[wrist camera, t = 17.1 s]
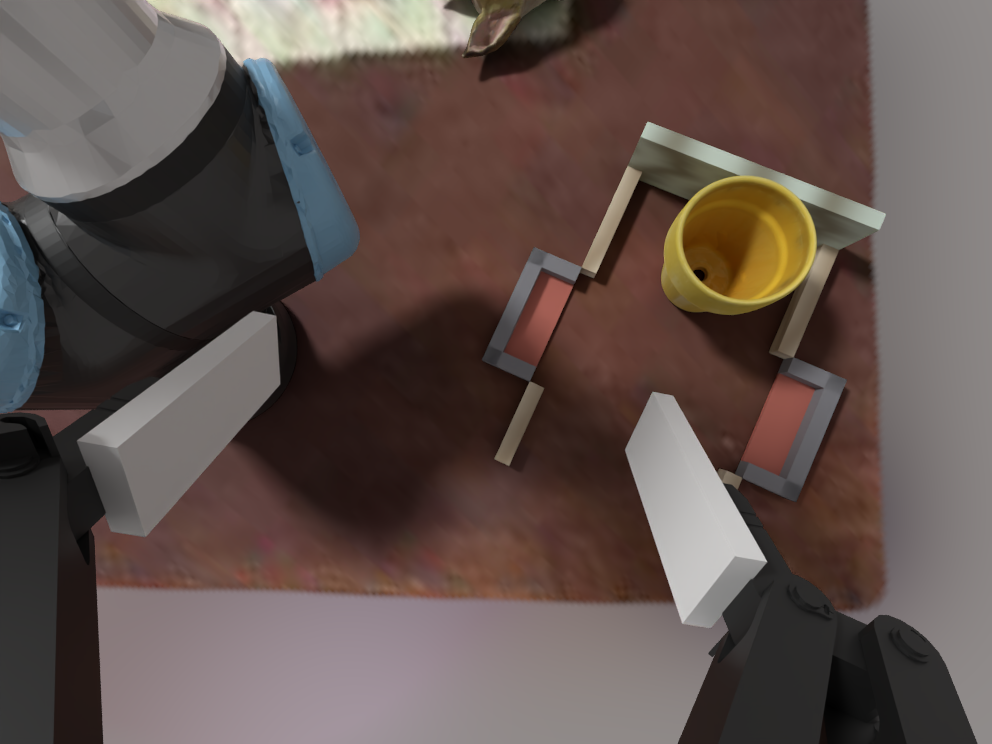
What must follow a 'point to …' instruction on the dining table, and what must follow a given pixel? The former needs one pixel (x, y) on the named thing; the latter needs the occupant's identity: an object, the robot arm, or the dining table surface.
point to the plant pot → (738, 247)
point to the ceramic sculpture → (495, 24)
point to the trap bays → (783, 420)
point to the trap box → (685, 174)
